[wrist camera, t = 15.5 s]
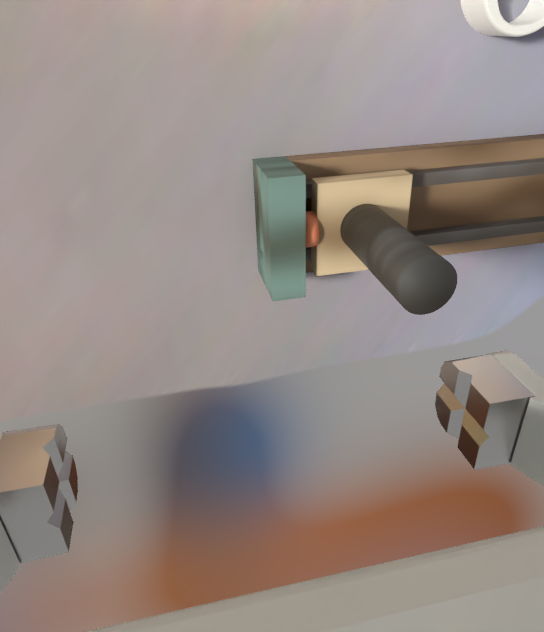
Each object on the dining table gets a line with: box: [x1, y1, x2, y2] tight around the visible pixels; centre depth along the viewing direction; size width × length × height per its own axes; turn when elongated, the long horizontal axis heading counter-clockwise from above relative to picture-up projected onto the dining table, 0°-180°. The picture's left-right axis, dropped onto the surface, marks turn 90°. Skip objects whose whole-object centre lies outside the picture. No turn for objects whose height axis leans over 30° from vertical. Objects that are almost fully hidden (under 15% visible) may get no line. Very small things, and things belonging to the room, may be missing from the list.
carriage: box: [311, 170, 457, 315], centre depth 33 cm, size 7×7×12 cm
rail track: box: [253, 134, 544, 301], centre depth 39 cm, size 9×28×6 cm, turn 92°
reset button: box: [306, 211, 319, 248], centre depth 37 cm, size 3×1×3 cm, turn 2°
